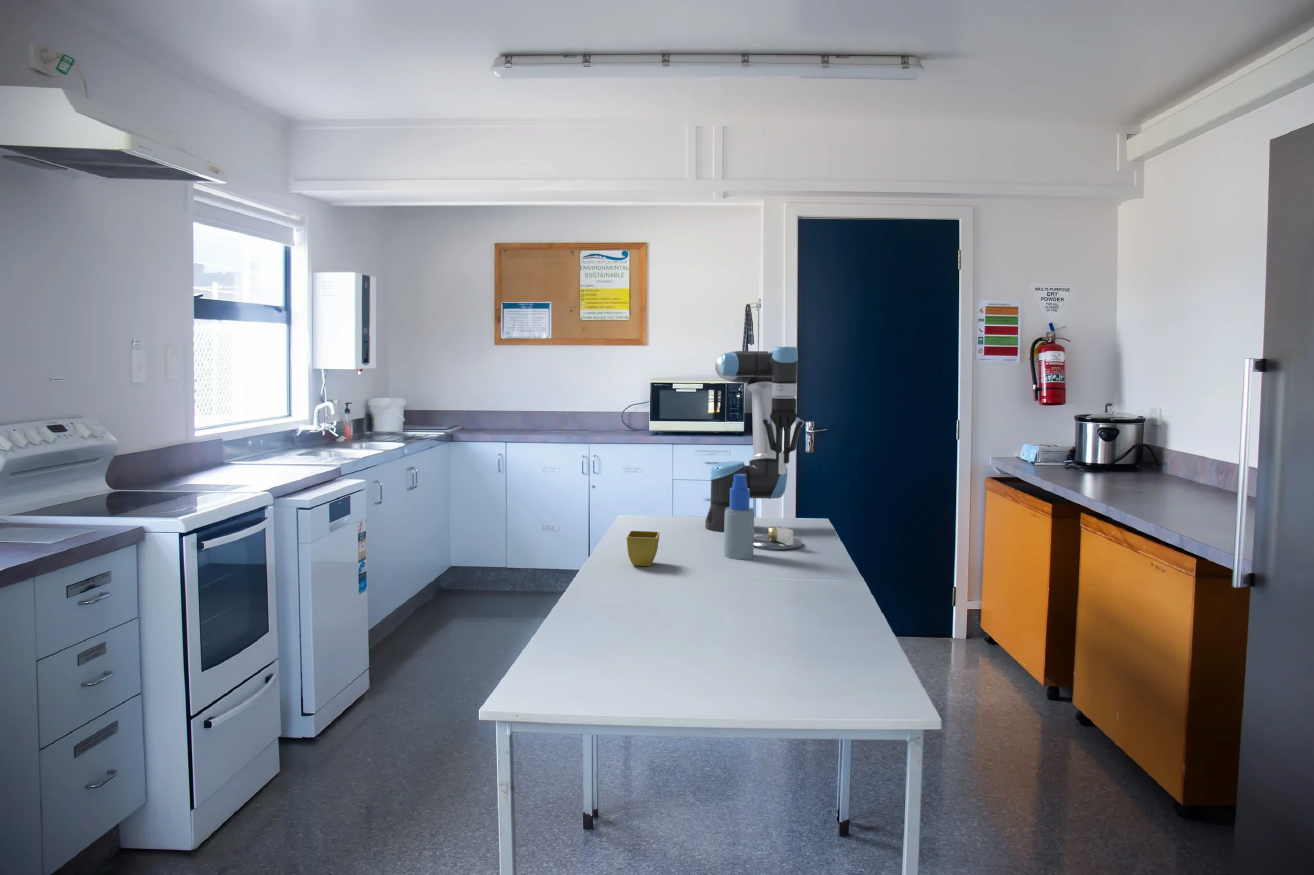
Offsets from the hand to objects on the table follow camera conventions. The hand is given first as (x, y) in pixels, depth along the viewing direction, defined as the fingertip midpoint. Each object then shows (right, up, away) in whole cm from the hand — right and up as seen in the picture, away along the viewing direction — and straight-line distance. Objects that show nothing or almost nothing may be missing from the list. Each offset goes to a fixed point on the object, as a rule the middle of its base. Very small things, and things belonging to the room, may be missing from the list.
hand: (782, 473), depth 249 cm
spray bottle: (-14, -25, -3) cm, 29 cm away
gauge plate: (-1, -23, +12) cm, 26 cm away
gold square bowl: (-43, -26, -15) cm, 52 cm away
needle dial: (+1, -22, +9) cm, 24 cm away
